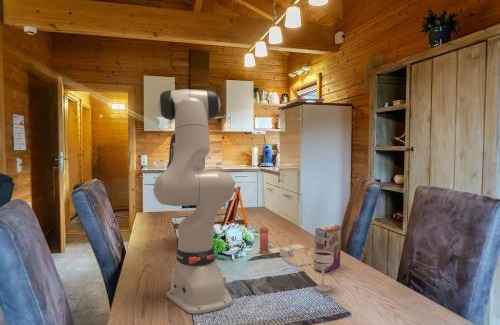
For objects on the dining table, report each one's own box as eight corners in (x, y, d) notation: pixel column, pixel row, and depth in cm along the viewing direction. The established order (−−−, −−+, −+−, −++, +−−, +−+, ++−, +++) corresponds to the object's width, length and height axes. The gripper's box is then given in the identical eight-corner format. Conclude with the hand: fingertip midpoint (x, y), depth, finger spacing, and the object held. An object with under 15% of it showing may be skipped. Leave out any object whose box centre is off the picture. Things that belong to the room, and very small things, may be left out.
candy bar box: (325, 274, 124) (326, 230, 123) (313, 270, 127) (314, 227, 126) (341, 266, 131) (341, 225, 131) (330, 263, 135) (330, 223, 134)
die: (293, 258, 141) (293, 248, 141) (287, 260, 138) (287, 250, 138) (285, 256, 144) (286, 246, 144) (279, 258, 141) (279, 248, 141)
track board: (309, 250, 152) (309, 248, 151) (251, 261, 137) (251, 258, 137) (295, 244, 160) (295, 242, 160) (240, 254, 146) (240, 252, 146)
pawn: (271, 252, 145) (271, 226, 144) (262, 254, 142) (262, 227, 142) (265, 249, 149) (265, 224, 148) (256, 251, 147) (256, 225, 146)
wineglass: (334, 293, 107) (334, 256, 107) (312, 291, 108) (313, 255, 108) (332, 284, 114) (333, 250, 113) (312, 283, 115) (312, 248, 115)
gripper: (192, 179, 147) (215, 191, 140) (222, 171, 163) (244, 182, 156) (190, 192, 149) (212, 204, 142) (220, 183, 165) (241, 194, 158)
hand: (229, 193), depth 149 cm, fingers open, 8 cm apart
